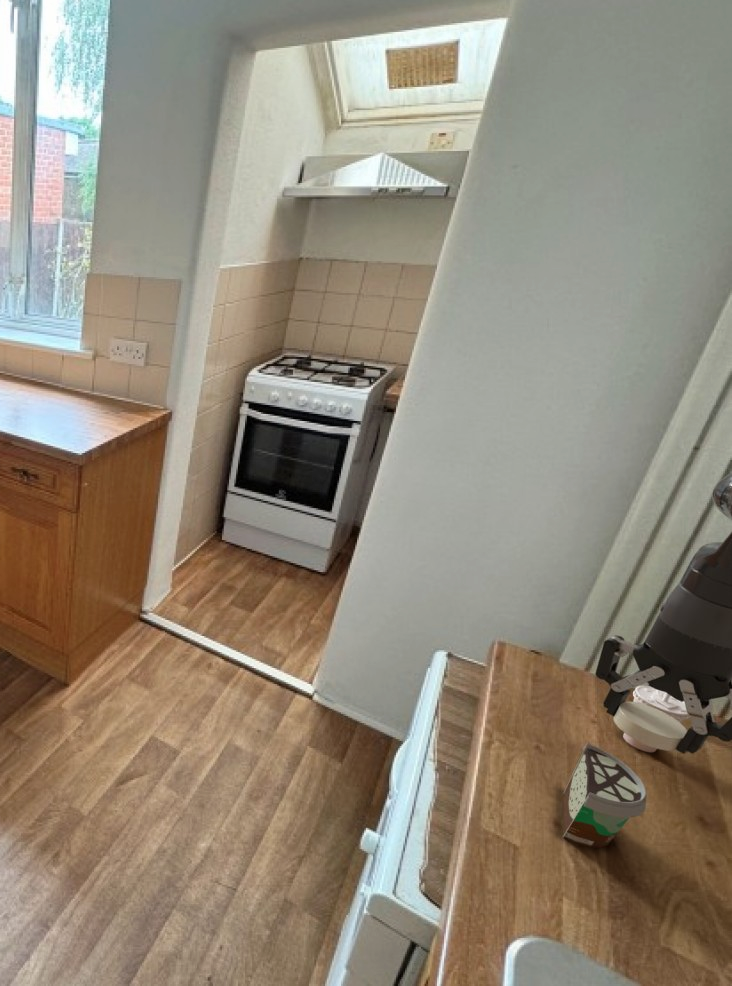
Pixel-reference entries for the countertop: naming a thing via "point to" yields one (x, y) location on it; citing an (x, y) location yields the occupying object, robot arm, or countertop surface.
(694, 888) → the countertop surface
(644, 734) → the cream round lid
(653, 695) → the smoothie
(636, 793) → the food container
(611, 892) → the countertop surface
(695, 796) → the countertop surface
